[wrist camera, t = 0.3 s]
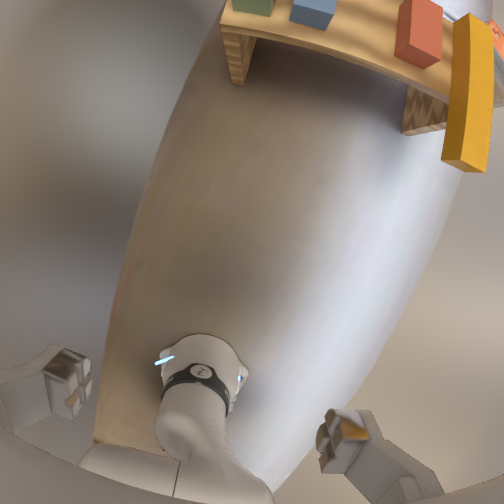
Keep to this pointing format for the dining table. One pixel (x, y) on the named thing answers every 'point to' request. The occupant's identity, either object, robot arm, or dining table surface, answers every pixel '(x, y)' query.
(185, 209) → the dining table surface
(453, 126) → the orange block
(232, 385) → the robot arm
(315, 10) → the block
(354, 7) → the shelf
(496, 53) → the cracker box
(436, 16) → the block
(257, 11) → the block
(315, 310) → the dining table surface
